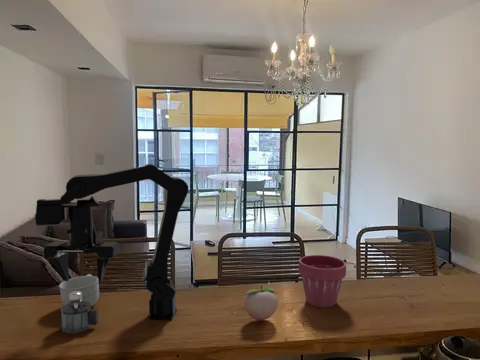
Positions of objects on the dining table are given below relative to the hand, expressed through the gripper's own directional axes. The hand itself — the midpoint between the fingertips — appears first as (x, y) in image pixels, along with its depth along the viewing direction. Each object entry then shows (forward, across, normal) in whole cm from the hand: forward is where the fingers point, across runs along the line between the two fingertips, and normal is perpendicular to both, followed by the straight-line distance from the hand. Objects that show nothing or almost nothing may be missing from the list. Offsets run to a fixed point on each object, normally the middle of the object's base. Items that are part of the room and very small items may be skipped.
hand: (83, 281), depth 106 cm
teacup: (+12, +7, -13) cm, 19 cm away
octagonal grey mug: (+12, +2, +1) cm, 12 cm away
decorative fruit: (+13, -47, -6) cm, 49 cm away
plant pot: (+13, -65, -20) cm, 70 cm away
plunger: (+11, +2, +1) cm, 11 cm away
